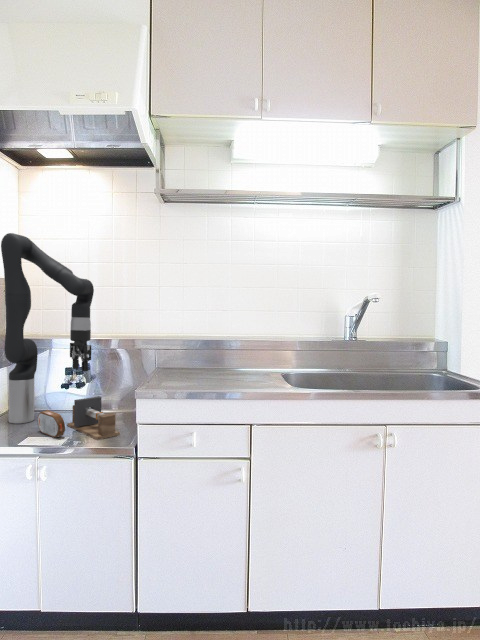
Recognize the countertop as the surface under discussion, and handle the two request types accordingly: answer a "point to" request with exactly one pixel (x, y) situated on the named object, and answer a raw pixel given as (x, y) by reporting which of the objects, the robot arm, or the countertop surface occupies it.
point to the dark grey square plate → (79, 410)
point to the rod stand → (97, 425)
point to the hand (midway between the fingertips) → (80, 369)
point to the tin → (51, 423)
